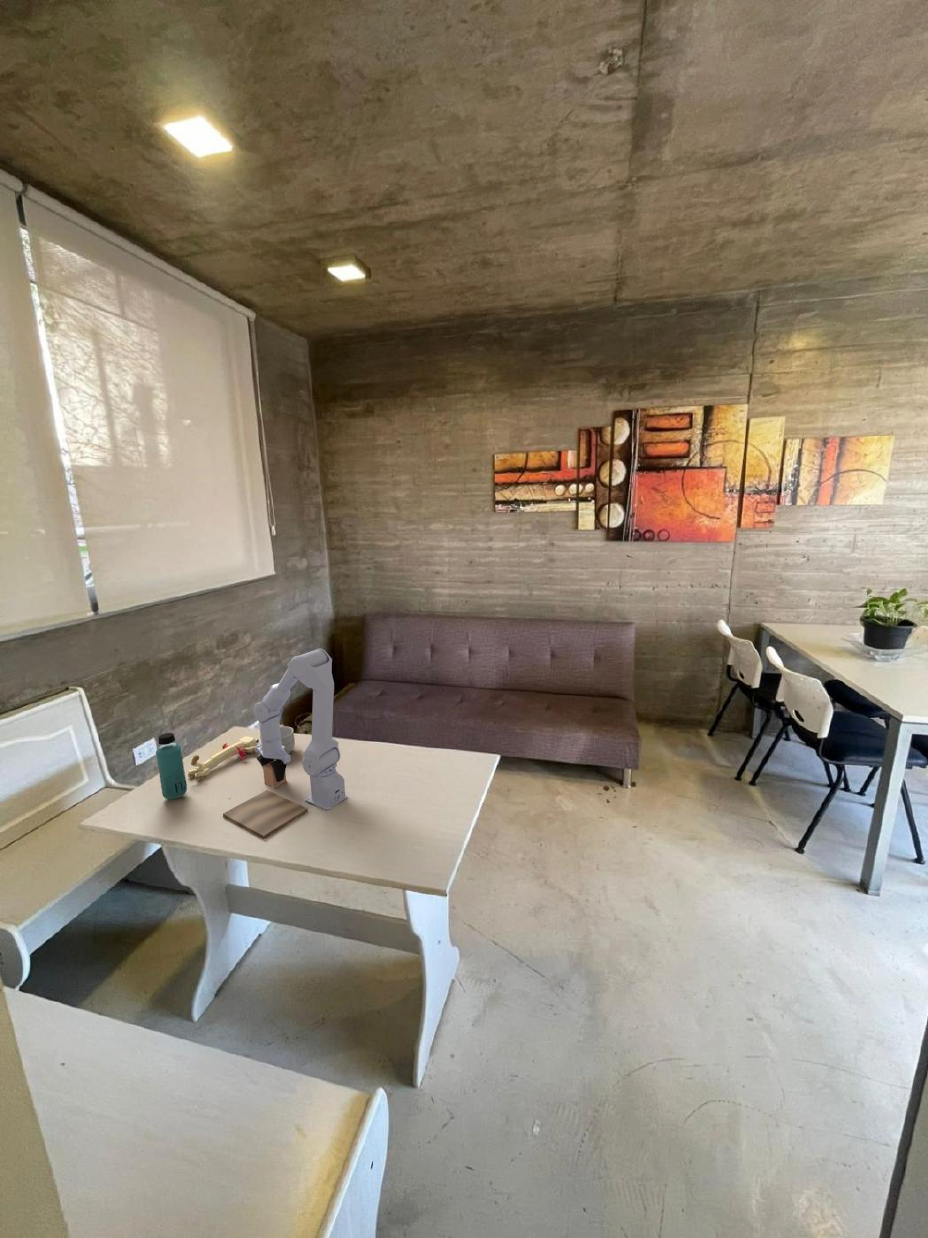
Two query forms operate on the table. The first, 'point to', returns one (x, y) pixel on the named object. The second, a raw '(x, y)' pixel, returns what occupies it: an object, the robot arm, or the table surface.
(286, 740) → the teacup
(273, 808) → the board
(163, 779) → the beverage bottle
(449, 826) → the table surface
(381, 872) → the table surface
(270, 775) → the block
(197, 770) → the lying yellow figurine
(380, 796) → the table surface
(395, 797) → the table surface
